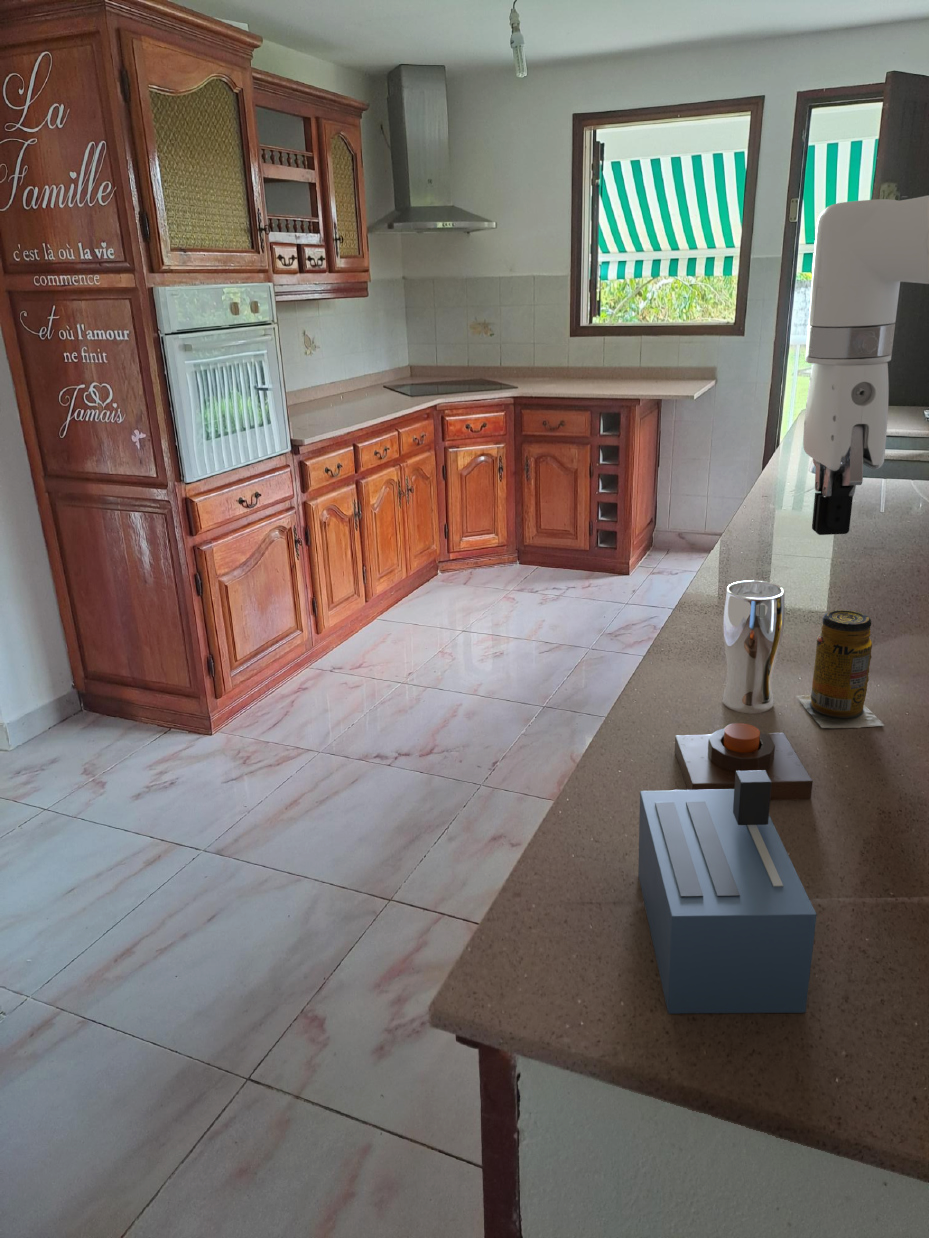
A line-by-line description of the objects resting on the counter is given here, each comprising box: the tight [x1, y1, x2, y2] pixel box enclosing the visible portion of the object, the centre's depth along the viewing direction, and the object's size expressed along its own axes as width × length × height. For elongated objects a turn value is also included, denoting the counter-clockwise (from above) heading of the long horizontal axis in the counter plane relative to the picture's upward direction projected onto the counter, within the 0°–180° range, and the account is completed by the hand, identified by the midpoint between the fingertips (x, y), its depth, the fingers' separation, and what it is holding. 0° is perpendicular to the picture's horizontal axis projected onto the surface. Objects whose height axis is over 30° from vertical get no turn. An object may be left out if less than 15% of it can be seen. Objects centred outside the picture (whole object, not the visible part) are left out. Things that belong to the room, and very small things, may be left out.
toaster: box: [637, 789, 818, 1015], centre depth 71 cm, size 10×16×9 cm, turn 177°
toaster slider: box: [733, 770, 772, 825], centre depth 71 cm, size 2×2×4 cm
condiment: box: [795, 609, 885, 729], centre depth 104 cm, size 7×8×12 cm
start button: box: [723, 722, 761, 753], centre depth 93 cm, size 4×4×2 cm
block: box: [674, 727, 813, 801], centre depth 94 cm, size 12×10×4 cm
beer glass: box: [721, 580, 786, 715], centre depth 107 cm, size 7×7×15 cm
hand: (830, 531), depth 90 cm, fingers closed
